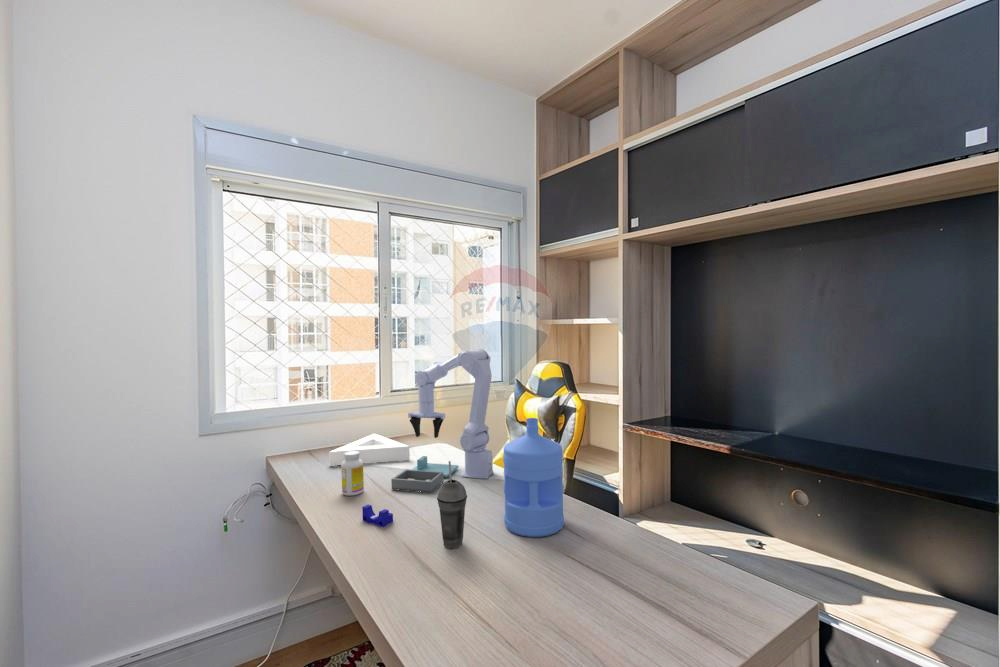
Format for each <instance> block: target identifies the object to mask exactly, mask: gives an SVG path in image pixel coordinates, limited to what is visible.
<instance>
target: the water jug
mask: <svg viewBox="0 0 1000 667" xmlns="http://www.w3.org/2000/svg"><path fill="white" fill-rule="evenodd" d="M525 421H526V425H525V427H526V433H525V434H524V435H522V436H519V437H518V438H516V439H513V440H511V441H509V442H508V443H506V444H505V445H504V446H503V455H502V460H503V461H502V462H503V471H504V472H503V482H504V484H503V494H504V515H503V517H504V518H503V520H504V525H505V527H506V528H507V529H508V530H509V531H510V532H512V533H513V534H515V535H517V536H522V537H529V538H542V537H544V538H545V537H549V536H551V535H555V534H556V533H558V532H559V531H560V530H561V529H562V528H563V527H564V523H565V517H564V516H565V515H564V484H563V463H564V462H563V460H564V456H563V455H564V454H563V447H562V445H561V444H560V443H558V442H556V441H555V440H552V439H549V438H547V437H545V436H543V435H541V434H540V433H539V423H538V422H539V418H536V417H529V418H526V419H525Z"/></svg>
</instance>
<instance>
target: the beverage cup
mask: <svg viewBox="0 0 1000 667" xmlns="http://www.w3.org/2000/svg"><path fill="white" fill-rule="evenodd" d="M448 465H449V476H448V478H449V479H447V480H446V481H444V483H442V484H441V485H440V486H439V487H438V488H439V489H438V491H437V497H436V499H437V504H438V507H439V516H440V524H441V534H442V542H443V547H444V546H445V547H447V548H446V549H448V548H456V549H459V548H461V547H462V546H463V540H464V530H465V511H466V510H465V509H466V503H467V498H468V494H467V490H466V488H465V486H464V484H463V483H461V481H459V480H456V479H452V474H451V465H452V462H451V460H449V461H448ZM460 546H461V547H460ZM445 547H444V548H445ZM458 547H459V548H458Z"/></svg>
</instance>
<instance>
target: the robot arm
mask: <svg viewBox="0 0 1000 667" xmlns="http://www.w3.org/2000/svg"><path fill="white" fill-rule="evenodd" d="M490 364H491V356H490V355H489V353H488V352H487V351H486V350H485V349H475V350H464V351H462V352H459V353H458V354H456V355H454V356H453V357H452V358H450V359H448V360H446V361H445V362H442V361H435V362H434V363H433V365H431V366H426V367H425V370H418V371H417V372H416V373H415V375H414V380H415V383H416V385H417V387H418V389H417V390H418V411H409V412H408V413H407V415H408V419H409V418H410V419H409V422H410V424H411V426H412V429H413V430H414V434H415V437H416V438H419V437H421V421H422V420H421V419H433V420H432V423H433V437H434V438H435V439H437V438H439V434H440V433H439V432H440V429H441V427H442V424H443V422H444V419H446V413H445V412H436V411H435V400H434V399H435V398H434V397H435V396H434V392H435V391H434V389H435V387H436V386H435V384H436V382H437V381H439V380H441V379H442V378H445V377H446V376H447V375H448V373H449V371H451V370H453V369H455V368H459V367H460V366H461V367H462V368H463V369H464V370H465V371H466V372H467V373H468V374H470V375H471V376H472V377H473V379H474V386H473V392H472V399H471V405H470V406H471V407H470V413H469V421H468V422H467V424H466V425H465V427H464V428H463V431H462V434H461V436H460V438H459V443H460V447H461V448H462V449H463V452H464V472H463V473H462V474H461V478H472V479H486V480H487V479H488V478H489V477H490V476H491V475H492V474H493V473H494V469H493V452H492V450H489V449H486V448H487V445H488V444H489V442H490V434H489V426H488V425H486V423H485V422H486V417H487V410H488V403H489V396H490V389H491V385H492V384H491V382H492V370H491V366H490Z"/></svg>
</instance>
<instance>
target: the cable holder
mask: <svg viewBox="0 0 1000 667" xmlns="http://www.w3.org/2000/svg"><path fill="white" fill-rule="evenodd" d="M361 509H362V510H361V511H362V521H363V522H366V523H368V524H369V523H370V524H373V525H376V526H379V525H380V526H379V527H382V526H383V527H382V528H384V526H385V527H386V526H389V525H391V524H393V523H394V513H392V512H389V511H390V510H389V509H386V508H384V509H382V510H380V511H378V515H377V514H375V512H374V509H373V505H372V504H366V505H364V506H362V508H361Z"/></svg>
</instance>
